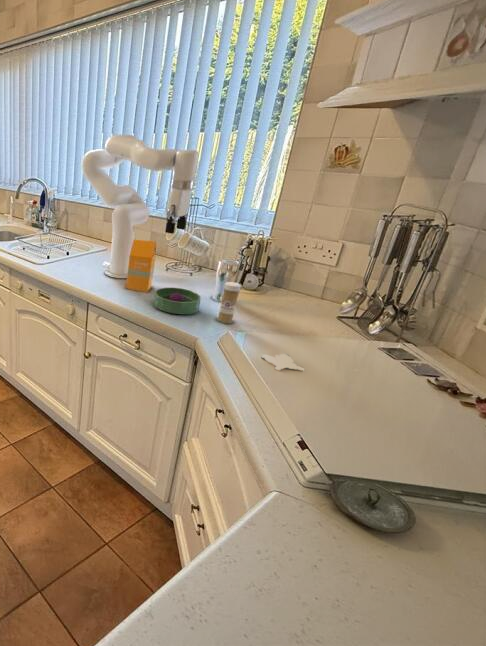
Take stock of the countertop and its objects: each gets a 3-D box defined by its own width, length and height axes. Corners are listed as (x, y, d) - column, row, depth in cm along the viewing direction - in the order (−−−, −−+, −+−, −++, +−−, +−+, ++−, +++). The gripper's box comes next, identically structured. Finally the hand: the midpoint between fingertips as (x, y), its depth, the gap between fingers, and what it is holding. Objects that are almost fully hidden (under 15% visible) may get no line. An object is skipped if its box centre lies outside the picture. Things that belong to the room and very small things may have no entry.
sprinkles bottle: (217, 322, 133) (225, 285, 127) (216, 317, 136) (224, 280, 131) (232, 324, 131) (241, 286, 126) (231, 319, 135) (240, 282, 129)
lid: (407, 517, 66) (416, 490, 65) (416, 548, 58) (426, 518, 57) (326, 486, 72) (334, 461, 71) (325, 510, 65) (334, 483, 64)
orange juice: (130, 283, 170) (135, 237, 162) (151, 286, 166) (158, 239, 158) (125, 288, 164) (130, 241, 156) (147, 292, 160) (154, 244, 152)
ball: (165, 305, 145) (167, 293, 143) (171, 301, 148) (173, 289, 146) (179, 309, 142) (181, 297, 140) (185, 305, 145) (187, 293, 143)
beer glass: (229, 303, 147) (238, 265, 141) (209, 299, 151) (217, 262, 145) (232, 298, 152) (241, 261, 146) (213, 294, 156) (220, 258, 150)
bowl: (145, 307, 145) (147, 294, 143) (164, 296, 155) (166, 284, 153) (187, 319, 135) (189, 306, 133) (204, 307, 145) (207, 294, 143)
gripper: (182, 183, 155) (175, 226, 161) (161, 186, 144) (155, 233, 150) (201, 184, 150) (194, 228, 156) (182, 188, 139) (174, 236, 145)
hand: (175, 230), depth 153 cm, fingers open, 9 cm apart
